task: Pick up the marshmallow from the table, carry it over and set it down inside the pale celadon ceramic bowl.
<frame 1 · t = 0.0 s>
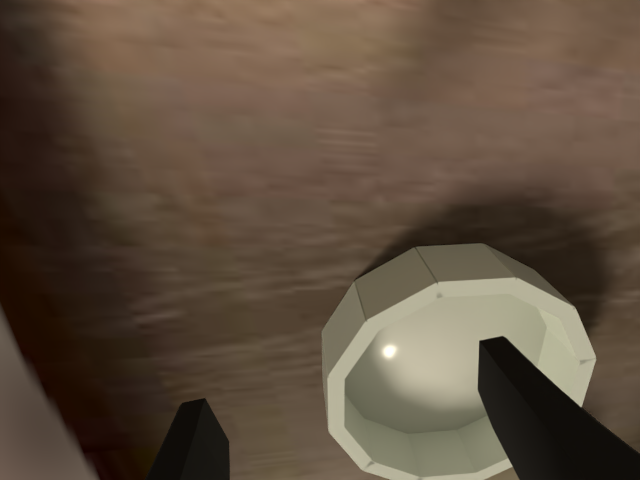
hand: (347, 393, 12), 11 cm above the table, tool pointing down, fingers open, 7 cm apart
bowl: (437, 349, 25), on the table
marshmallow: (506, 465, 29), on the table
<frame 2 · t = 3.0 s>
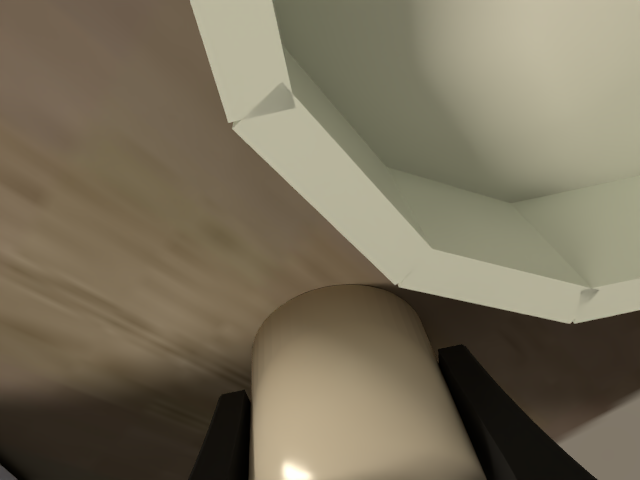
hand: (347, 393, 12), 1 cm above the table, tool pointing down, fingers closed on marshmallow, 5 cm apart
marshmallow: (339, 351, 13), on the table, touching gripper
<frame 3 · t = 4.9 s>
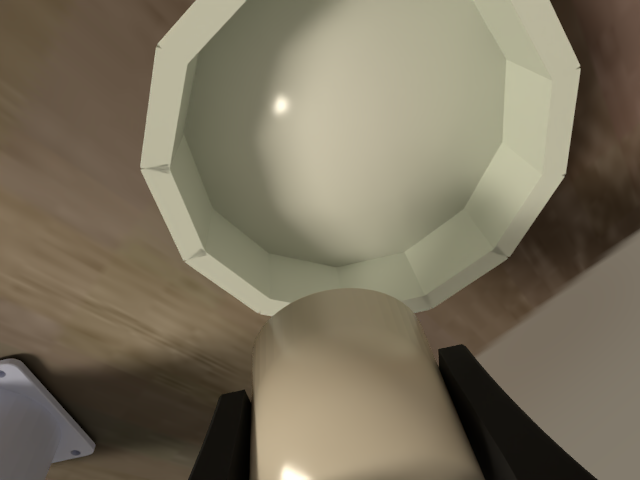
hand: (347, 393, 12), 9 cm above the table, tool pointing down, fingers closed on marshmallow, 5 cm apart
bowl: (348, 132, 16), on the table
marshmallow: (339, 354, 13), point 7 cm above the table, touching gripper
when the fingers open (3 cm above the table, at t = 7.0 s): marshmallow drops 1 cm, resting on bowl.
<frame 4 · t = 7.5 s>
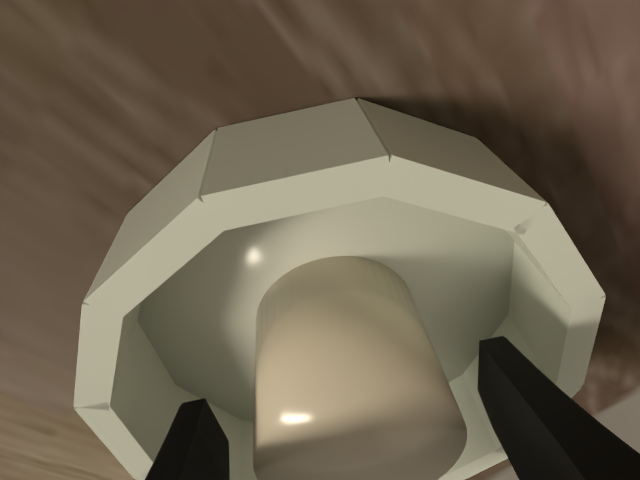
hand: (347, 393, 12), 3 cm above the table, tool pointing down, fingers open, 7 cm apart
bowl: (330, 305, 14), on the table
marshmallow: (335, 319, 14), point 1 cm above the table, touching bowl
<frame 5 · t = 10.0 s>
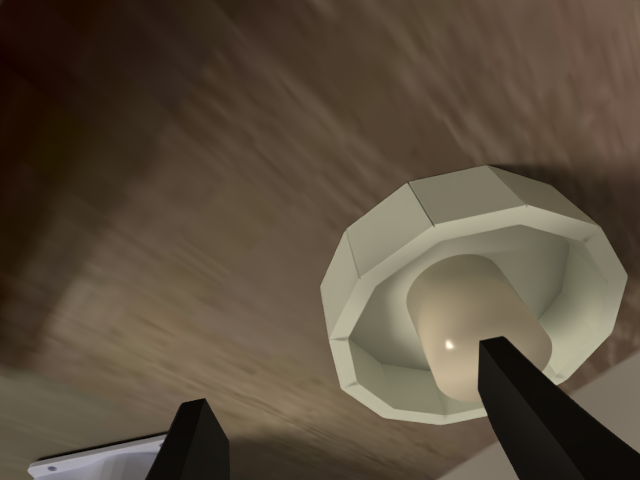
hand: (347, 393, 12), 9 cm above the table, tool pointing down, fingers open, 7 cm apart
bowl: (449, 285, 23), on the table
marshmallow: (454, 294, 22), point 1 cm above the table, touching bowl
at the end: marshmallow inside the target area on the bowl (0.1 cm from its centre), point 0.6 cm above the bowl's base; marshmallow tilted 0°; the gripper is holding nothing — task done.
